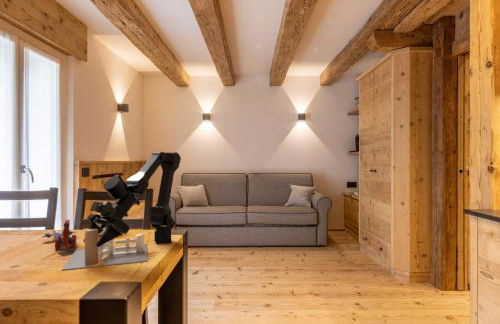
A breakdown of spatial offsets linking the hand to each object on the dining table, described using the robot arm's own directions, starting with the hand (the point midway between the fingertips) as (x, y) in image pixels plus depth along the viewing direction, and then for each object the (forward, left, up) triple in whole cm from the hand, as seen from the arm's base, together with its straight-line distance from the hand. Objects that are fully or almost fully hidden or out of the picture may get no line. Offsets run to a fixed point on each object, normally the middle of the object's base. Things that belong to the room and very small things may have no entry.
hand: (90, 244), depth 104 cm
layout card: (-5, -10, -7) cm, 13 cm away
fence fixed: (-10, -11, -7) cm, 17 cm away
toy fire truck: (+13, -30, -7) cm, 34 cm away
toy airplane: (+19, -46, -7) cm, 50 cm away
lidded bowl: (+1, -51, -7) cm, 52 cm away
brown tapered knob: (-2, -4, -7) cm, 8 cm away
